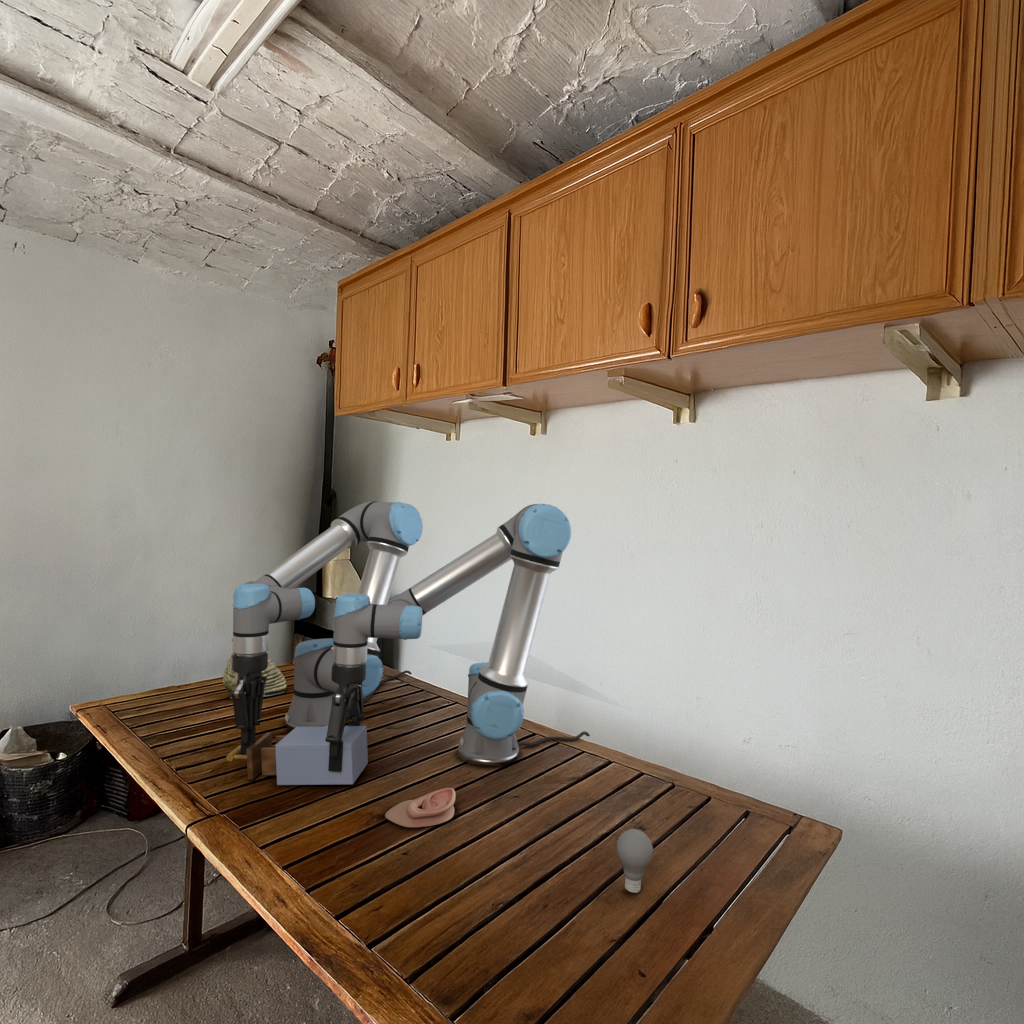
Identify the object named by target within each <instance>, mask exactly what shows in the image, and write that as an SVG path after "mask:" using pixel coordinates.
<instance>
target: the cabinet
mask: <svg viewBox="0 0 1024 1024" xmlns="http://www.w3.org/2000/svg"><path fill="white" fill-rule="evenodd" d="M367 729H368V728H367V725H360V726H348V725H345V727H344V732H343V736H342V741H343V755H342V771H341V772H335V771H328V767H329V748H330V742H326V741H325V739H326V737H327V731H328V726H324V727H296V728H295V729H293V730H292V729H291V731H290V732H288V734H286V736H285V737H284V738H283V739H282V740H281V741H280V742H278V743H277V744H276V743H275V745H274V746H275V748H276V770H277V775H276V786H306V785H307V786H313V785H314V786H315V785H317V786H319V785H320V786H321V785H322V786H324V785H326V786H327V785H330V786H331V785H354V784H355V782H356V781H357V779H358V778H359V777H360V775H361V774H362V772H364V770H365V768H366V767H367V765H368V764H369V751H368V731H367Z"/></svg>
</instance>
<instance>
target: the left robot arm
mask: <svg viewBox="0 0 1024 1024" xmlns="http://www.w3.org/2000/svg"><path fill="white" fill-rule="evenodd" d="M423 529H424V527H423V519H422V517H421V513H420V512H419V510H418V509H417V508H416V507H415V506H414V505H412V504H410V503H406V502H405V503H404V502H400V501H396V502H393V501H378V500H377V501H376V500H370V501H366V502H363V503H360V504H357V505H356V506H354V507H352V508H350V509H348V510H347V511H345V512H344V513H342V514H341V515H340V516H338V517H337V518H335V519H334V520H333V521H331V523H330V527H328V528H327V529H326V530H325V531H323V532H321V533H320V534H319V535H318V536H316V537H315V538H314V539H312V540H311V541H309V542H307V544H305V545H304V546H302V547H301V548H299V549H298V550H296V551H295V552H294V553H293V554H291V555H290V556H288V557H287V558H286V559H284V560H283V561H282V562H280V563H278V564H277V565H276V566H274V567H273V568H272V569H270V570H269V571H267V572H266V573H264V574H263V575H262V576H260V577H259V578H258V579H257V580H255V581H253V580H251V581H243V582H240V583H239V584H238V585H237V586H236V587H235V589H234V591H233V595H232V600H233V601H232V611H233V612H232V637H231V642H232V653H233V652H234V653H235V654H234V655H233V656H232V670H233V671H234V672H236V673H237V674H238V680H237V689H236V690H232V691H231V697H232V698H231V699H232V706H233V715H234V724H235V729H236V730H240V745H241V754H240V755H247V752H246V749H247V748H249V747H250V746H251V745H252V744H254V743H255V742H256V737H257V735H256V733H257V732H256V729H257V727H256V726H258V727H259V726H261V723H262V722H261V721H260V720H261V719H262V712H263V711H262V710H263V704H264V697H263V696H264V688H265V683H266V680H267V677H266V676H262V671H264V670H266V669H267V667H268V656H269V654H268V651H269V631H270V625H271V624H272V625H273V624H278V623H284V622H290V621H300V620H302V619H306V618H308V617H310V616H311V615H312V614H313V613H314V611H315V608H316V598H315V596H314V593H313V592H312V590H311V589H309V588H307V587H298V586H299V585H301V584H302V583H303V582H305V581H306V580H308V579H309V578H310V577H311V576H313V575H314V574H315V573H317V572H318V571H320V569H321V570H322V568H323V567H325V566H326V565H327V564H329V563H330V562H332V561H333V560H334V559H335V558H336V557H337V556H339V555H341V554H342V553H343V552H344V551H345V550H347V549H354V548H355V547H356V546H358V545H360V544H361V543H365V542H366V545H367V547H368V549H369V553H368V557H367V559H366V562H365V563H366V564H365V567H364V570H363V573H362V577H361V580H360V583H359V587H358V590H357V593H359V594H365V595H368V596H369V597H370V602H371V604H377V605H386V604H387V602H388V601H389V600H390V596H391V592H392V588H393V586H394V581H395V578H396V575H397V571H398V567H399V564H400V561H401V559H402V558H403V557H405V556H406V555H408V553H409V549H410V546H414V545H415V544H417V542H419V541H420V539H421V538H422V534H423ZM333 641H334V637H333V638H331V637H329V638H317V639H316V638H315V639H308V640H304V641H301V642H299V643H298V644H297V645H296V646H295V652H294V656H293V658H294V670H293V671H294V672H293V695H292V696H293V697H292V699H291V702H290V704H289V708H288V711H287V713H285V716H284V719H285V726H286V728H287V729H289V730H291V731H292V730H293V729H295V728H296V727H324V726H328V725H329V719H330V713H331V707H332V695H333V694H336V693H337V690H338V688H339V685H338V684H337V683H335V682H333V681H332V679H331V675H332V665H333V664H334V662H333V651H331V648H332V647H333ZM367 641H368V646H367V661H366V662H365V664H366V679H365V680H364V681H363V682H362V693H363V703H366V702H367V701H368V700H369V699H371V697H372V696H374V694H375V692H376V691H377V690H378V688H379V687H380V686H381V685H382V684H384V683H386V682H388V681H391V680H394V679H396V678H399V677H401V676H402V675H405V674H408V675H412V672H411V671H410V670H404V671H401V672H400V673H397V674H395V675H392V676H390V677H387V678H384V679H383V680H382V678H383V675H384V666H383V661H382V660H381V659H380V658H379V655H380V652H381V649H380V648H379V646H378V643H377V641H378V638H368V640H367Z"/></svg>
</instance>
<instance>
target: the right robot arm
mask: <svg viewBox="0 0 1024 1024" xmlns="http://www.w3.org/2000/svg"><path fill="white" fill-rule="evenodd" d="M495 532H496V533H494V534H492V535H491V536H489V537H488V538H487V539H484V540H483V541H481V542H480V543H478V544H477V545H475V546H473V547H472V548H470V549H469V550H467V551H465V552H464V553H463V554H461V555H459V556H458V557H456V558H454V559H453V560H452V561H450V562H448V563H447V564H444V565H443V566H442V567H441V568H438V569H437V570H436V571H434V572H432V573H431V574H429V575H428V576H426V577H425V578H423V579H422V580H420V581H418V582H417V583H415V584H413V585H411V586H410V587H409V588H407V589H405V590H404V591H402V592H401V593H398V594H395V595H393V596H392V597H390V598H389V599H388V602H387V604H386V605H377V604H371V602H370V597H369V596H368V595H365V594H359V593H358V592H357V593H356V592H351V593H350V592H349V593H348V592H347V593H343V594H339V595H338V596H337V597H336V600H335V607H334V608H335V609H334V614H333V639H334V641H333V647H332V648H331V651H333V662H334V664H333V665H332V675H331V679H332V681H333V682H335V683H337V684H338V685H339V688H338V690H337V693H336V694H333V695H332V707H331V713H330V719H329V725H328V731H327V737H326V739H325V741H326V742H330V748H329V767H328V771H335V772H341V771H342V755H343V741H342V736H343V732H344V727H345V726H346V722H347V726H361V722H362V721H365V715H364V714H365V711H364V710H365V709H364V702H363V699H364V698H363V693H362V682H363V681H364V680H365V679H366V664H365V662H366V661H367V646H368V641H367V640H368V638H377V639H389V640H390V639H392V640H404V641H406V640H417V639H419V638H420V637H421V636H422V631H423V630H422V628H423V616H425V615H426V614H427V613H429V612H431V611H432V610H433V609H435V608H437V607H439V606H440V605H442V604H443V603H445V602H446V601H448V600H449V599H451V598H452V597H454V596H456V595H457V594H459V593H460V592H462V591H463V590H466V589H467V588H469V587H470V586H472V585H473V584H475V583H477V582H478V581H480V580H482V579H483V578H484V577H486V576H487V575H489V574H491V573H492V572H495V570H497V569H499V568H501V567H502V566H503V565H505V564H507V563H508V562H509V561H511V560H512V563H513V567H512V572H511V575H510V579H509V583H508V586H507V591H506V594H505V598H504V602H503V606H502V610H501V613H500V617H499V620H498V624H497V630H496V633H495V636H494V640H493V643H492V647H491V651H490V654H489V655H490V656H489V658H488V662H476V663H472V664H471V665H470V666H469V668H468V674H467V677H468V685H467V706H466V708H467V709H466V724H465V726H464V729H463V733H462V735H461V737H460V739H459V743H458V746H457V747H458V748H457V755H458V757H459V759H461V761H463V762H464V763H467V764H470V765H473V766H478V767H483V768H484V767H485V768H486V767H487V768H495V767H504V766H507V765H511V764H512V763H514V762H517V760H518V758H519V755H520V747H519V746H523V747H534V746H537V745H540V744H542V743H544V742H547V741H562V742H563V741H565V742H573V741H577V740H580V739H581V738H582V737H583V736H586V737H591V735H590V733H589V732H587V731H585V730H584V731H581V732H580V733H579V734H577V735H576V736H570V737H567V736H545V737H543V738H540V739H538V740H536V741H532V742H527V741H518V739H517V736H516V733H517V732H518V731H519V729H520V728H521V727H522V724H523V720H524V716H525V710H524V702H525V699H526V694H527V690H528V687H529V681H528V679H527V677H526V676H525V671H526V668H527V664H528V660H529V656H530V653H531V649H532V645H533V642H534V638H535V634H536V630H537V625H538V622H539V618H540V614H541V611H542V606H543V603H544V599H545V595H546V592H547V587H548V584H549V581H550V576H551V574H552V573H553V572H555V571H557V570H558V569H559V568H560V565H561V561H562V556H563V553H564V552H565V550H566V549H567V547H568V546H569V544H570V543H571V538H572V525H571V522H570V520H569V518H568V517H567V515H566V514H565V513H564V512H563V510H561V509H560V508H558V507H557V506H554V505H552V504H549V503H548V504H547V503H532V504H529V505H527V506H525V507H523V508H522V509H521V510H519V511H518V512H517V513H516V514H514V515H513V516H512V517H511V518H509V519H508V520H507V521H505V522H504V523H503V524H501V525H499V526H498V527H497V528H496V531H495ZM348 717H349V720H348V721H347V718H348ZM571 737H572V738H571Z"/></svg>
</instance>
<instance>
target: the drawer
mask: <svg viewBox="0 0 1024 1024" xmlns="http://www.w3.org/2000/svg"><path fill="white" fill-rule="evenodd" d="M286 735H287V734H286ZM286 735H285V734H284V735H276V736H275V737H274V738H275V741H274V742H275V745H276V744H277V743H278V742H280V741H281V740H282V739H283V738H284V737H285V736H286ZM246 752H247V755H240V754H241V744H240V745H238V746H237V747H236V748H234V749H233V750H232V751H231V752H229V753H228V754H227V755H226V760H227V762H232V761H234V760H237V759H239V760H242V759H244V760H245V759H246V770H247V771H246V773H247V780H254V779H255V778H257V776H258V775H260V774H261V775H262V776H277V770H276V748H275V747H273V733H272V732H266V733H264V734H263V736H261V737H260V738H259V739H257V740H255V743H254V744H252V745H251V746H250V747H249V748H247V749H246Z"/></svg>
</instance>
